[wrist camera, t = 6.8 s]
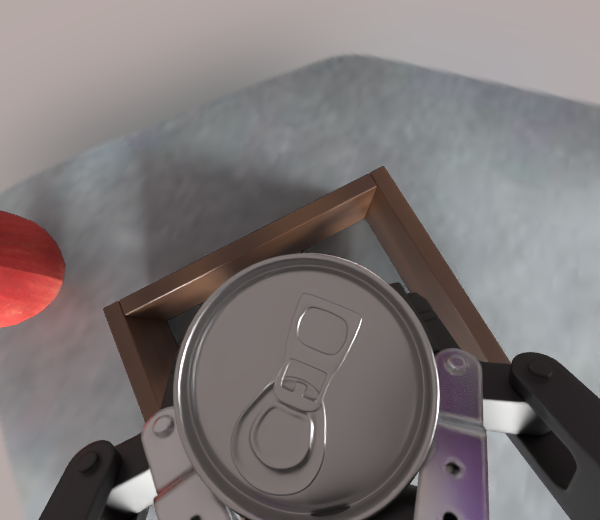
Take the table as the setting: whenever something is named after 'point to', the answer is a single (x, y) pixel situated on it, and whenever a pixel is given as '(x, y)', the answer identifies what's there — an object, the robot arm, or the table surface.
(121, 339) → the frame
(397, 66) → the table surface
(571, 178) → the table surface
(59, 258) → the onion
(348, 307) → the can
